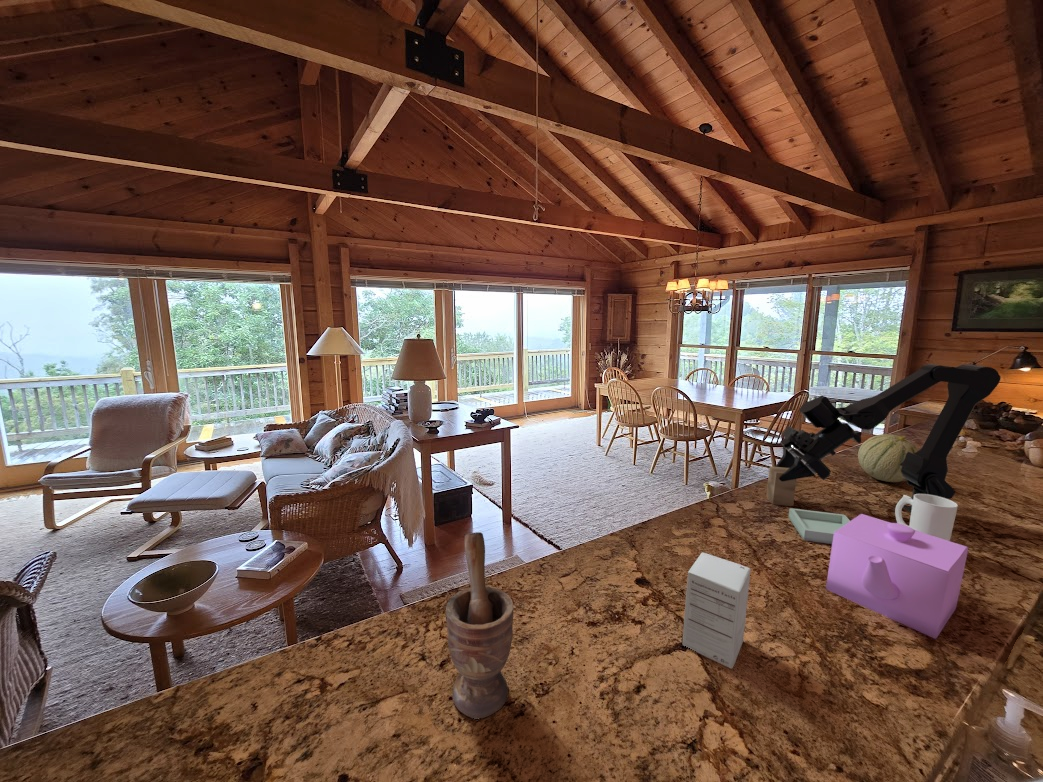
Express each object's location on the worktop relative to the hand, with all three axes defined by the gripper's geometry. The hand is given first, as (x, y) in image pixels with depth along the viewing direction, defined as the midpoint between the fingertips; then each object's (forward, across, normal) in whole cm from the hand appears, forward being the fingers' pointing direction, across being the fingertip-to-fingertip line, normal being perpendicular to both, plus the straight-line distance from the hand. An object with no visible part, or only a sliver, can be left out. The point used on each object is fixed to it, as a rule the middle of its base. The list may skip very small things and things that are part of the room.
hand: (776, 476), depth 117 cm
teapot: (+2, +42, +9) cm, 43 cm away
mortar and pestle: (+49, +75, -38) cm, 97 cm away
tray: (+1, +16, +9) cm, 19 cm away
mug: (-10, +20, +21) cm, 31 cm away
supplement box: (+25, +60, -15) cm, 66 cm away
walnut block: (+4, 0, +6) cm, 7 cm away
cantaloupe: (-23, -25, +33) cm, 47 cm away
